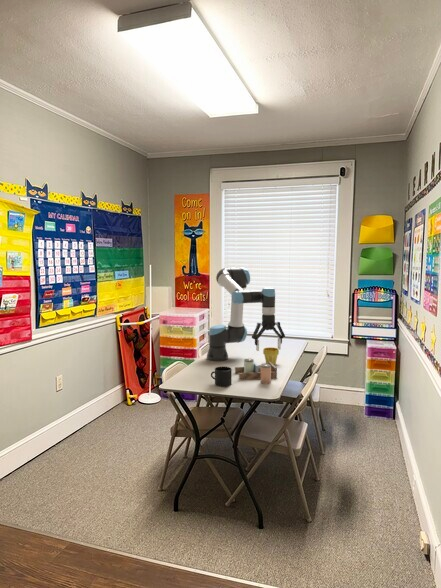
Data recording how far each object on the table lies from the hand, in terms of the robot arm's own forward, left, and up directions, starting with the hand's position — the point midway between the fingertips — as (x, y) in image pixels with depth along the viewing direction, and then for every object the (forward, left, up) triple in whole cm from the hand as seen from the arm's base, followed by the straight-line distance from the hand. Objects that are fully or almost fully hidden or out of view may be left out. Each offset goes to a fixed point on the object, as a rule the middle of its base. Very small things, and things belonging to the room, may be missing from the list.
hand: (268, 349), depth 239 cm
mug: (-30, -8, -17) cm, 35 cm away
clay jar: (-4, -8, -17) cm, 19 cm away
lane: (-6, +6, -17) cm, 19 cm away
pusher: (-5, +6, -16) cm, 18 cm away
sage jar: (-10, +6, -17) cm, 21 cm away
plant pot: (+10, +32, -17) cm, 38 cm away
